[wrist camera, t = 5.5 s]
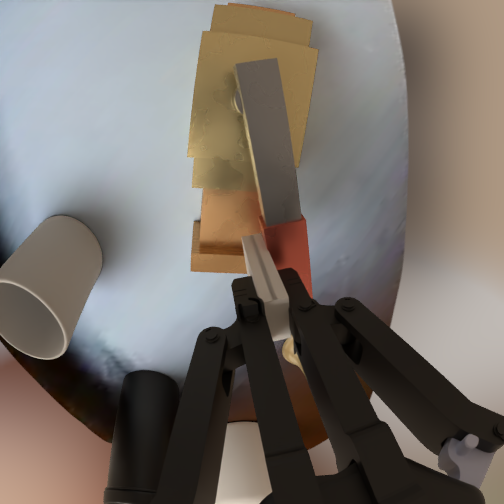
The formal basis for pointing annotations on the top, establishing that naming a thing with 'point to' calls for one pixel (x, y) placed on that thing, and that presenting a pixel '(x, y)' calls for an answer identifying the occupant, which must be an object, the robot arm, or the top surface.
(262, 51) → the valve
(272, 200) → the lever
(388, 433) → the robot arm
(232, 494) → the white lidded jar
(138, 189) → the top surface
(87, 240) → the mug
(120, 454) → the water bottle
